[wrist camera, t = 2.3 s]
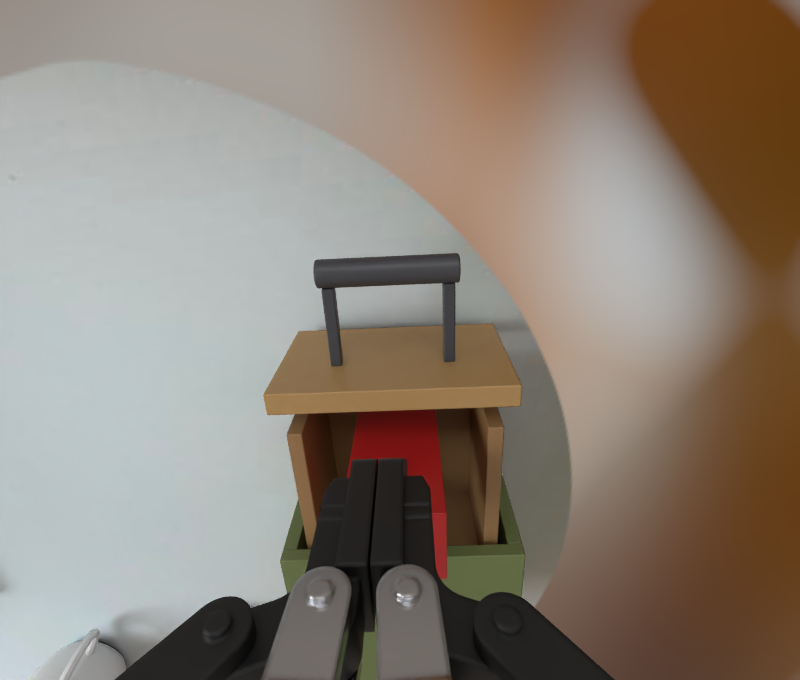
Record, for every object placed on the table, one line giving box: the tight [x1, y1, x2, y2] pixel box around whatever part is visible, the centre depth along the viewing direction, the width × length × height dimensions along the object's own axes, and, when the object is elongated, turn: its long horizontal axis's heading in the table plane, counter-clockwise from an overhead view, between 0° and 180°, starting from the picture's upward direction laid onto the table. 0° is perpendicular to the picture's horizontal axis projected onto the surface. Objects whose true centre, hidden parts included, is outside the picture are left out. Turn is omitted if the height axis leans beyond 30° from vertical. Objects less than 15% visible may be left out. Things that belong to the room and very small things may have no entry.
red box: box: [347, 409, 447, 579], centre depth 24 cm, size 4×4×11 cm
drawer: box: [263, 253, 522, 549], centre depth 26 cm, size 19×12×8 cm, turn 3°
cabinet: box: [280, 473, 525, 680], centre depth 32 cm, size 15×14×10 cm
